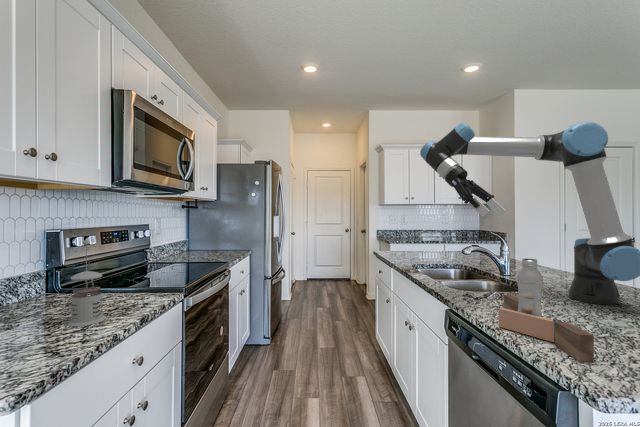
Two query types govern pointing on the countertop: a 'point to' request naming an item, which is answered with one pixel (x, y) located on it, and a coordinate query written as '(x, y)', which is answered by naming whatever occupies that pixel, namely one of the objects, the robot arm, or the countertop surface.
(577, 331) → the row of wooden blocks
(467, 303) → the countertop surface
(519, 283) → the plastic bottle
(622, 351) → the countertop surface
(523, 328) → the gate
